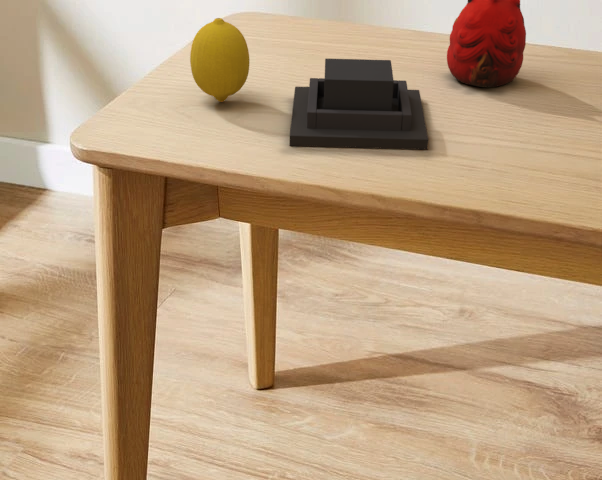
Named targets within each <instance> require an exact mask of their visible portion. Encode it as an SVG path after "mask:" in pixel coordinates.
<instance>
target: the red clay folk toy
mask: <svg viewBox="0 0 602 480" xmlns="http://www.w3.org/2000/svg"><path fill="white" fill-rule="evenodd" d="M526 41H527V30H526V26H525V18H524V15H523V12H522V9H521V0H467V3H466V5H465V6H464V7H463V8H462V9H461V11H460V13H459V14H458V16H457V17H456V18H455V19H454V22H453V24H452V30H451V31H450V34H449V45H448V47H447V51H446V63H447V67H448V68H447V69H448V70H449V72H450V74H451V75H452V76H453V77H454V78H455V79H456V80H457V81H459V82H461V83H462V84H466V85H469V86H473V87H480V88H490V87H491V88H498V87H501V86H505V85H507V84H509V83H513V82H514V80H515V79H516V77H517V76H518V74H519V73H520V70H521V68H522V67H523V63H524V52H525V48H526V45H527V42H526Z"/></svg>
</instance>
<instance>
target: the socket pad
mask: <svg viewBox="0 0 602 480" xmlns="http://www.w3.org/2000/svg"><path fill="white" fill-rule="evenodd" d="M393 80H394V84H393V98H392V111H360V110H324V82H325V77H323V78H322V77H319V78H318V77H310V78H309V85H308V86H295V87H294V92H293V93H294V94H293V102H292V103H293V104H292V112H291V118H290V119H291V120H290V129H289V146H290V147H317V148H319V147H320V148H321V147H322V148H351V149H353V148H354V149H357V148H358V149H385V150H386V149H390V150H423V151H424V150H425V151H427V150H428V148H429V135H428V131H427V130H428V129H427V125H426V119H425V113H424V108H423V103H422V98H421V93H420V92H421V91H420V89H409V88H408V82H407V80H399V79H396V80H395V79H393Z"/></svg>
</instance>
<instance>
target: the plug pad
mask: <svg viewBox="0 0 602 480" xmlns="http://www.w3.org/2000/svg"><path fill="white" fill-rule="evenodd" d="M324 78H325V82H324V110H360V111H392V98H393V84H394V80H395V79H394V74H393V65H392V60H390V59H366V58H365V59H360V58H324Z"/></svg>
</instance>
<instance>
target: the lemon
mask: <svg viewBox="0 0 602 480" xmlns="http://www.w3.org/2000/svg"><path fill="white" fill-rule="evenodd" d="M190 48H191V49H190V55H189V56H190V57H189V62H190V71H191V75H192V78H193V80H194V83H195V84H196V86H198V88H199V89H200V90H201V91H202V92H203V93H205V94H206V95H208V96H211V97H213V98H214V99H215V100H216V101H217V102H219V103H223V102H225V101H226V100H227V99H228V98H229V97H230V96H232V95H235V94H236V93H238V92H239V91H240V90H241V89H242V88H243V86H244V85H245V84H246V82H247V79H248V76H249V71H250V52H249V46H248V44H247V40H246V38H245V36H244V34H243V33H242V32H241V31H240V29H239V28H238V27H237V26H236V25H233V24H232V23H230V22H228V21H225V20H224V19H223V18H221V17H216V18H214V20H213V21H211V22H207V23H206V24H205V25H203V26H201V28H200V29H198V31H197V32H196V33H195V36H194V38H193V40H192V43H191V47H190Z"/></svg>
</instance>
